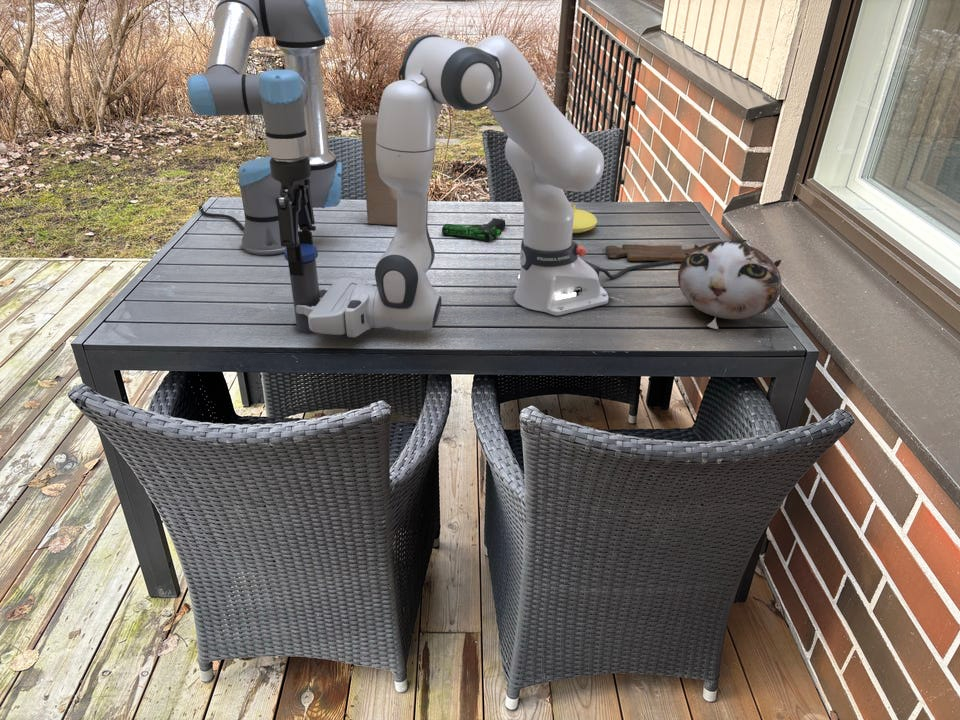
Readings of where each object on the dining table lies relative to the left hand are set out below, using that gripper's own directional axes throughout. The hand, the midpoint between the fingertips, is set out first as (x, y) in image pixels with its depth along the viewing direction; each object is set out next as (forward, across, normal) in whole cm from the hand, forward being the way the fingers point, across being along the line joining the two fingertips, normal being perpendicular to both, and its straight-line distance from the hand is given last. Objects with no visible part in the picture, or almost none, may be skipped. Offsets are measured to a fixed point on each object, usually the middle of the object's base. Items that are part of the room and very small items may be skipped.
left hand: (302, 267), depth 149 cm
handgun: (+14, -63, +30) cm, 71 cm away
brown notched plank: (+14, -52, +79) cm, 96 cm away
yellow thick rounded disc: (+14, -69, +56) cm, 91 cm away
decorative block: (+14, -68, +4) cm, 69 cm away
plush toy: (+14, -18, +91) cm, 94 cm away
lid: (-4, 0, 0) cm, 4 cm away
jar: (+14, 0, 0) cm, 14 cm away
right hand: (+8, 0, -1) cm, 8 cm away
